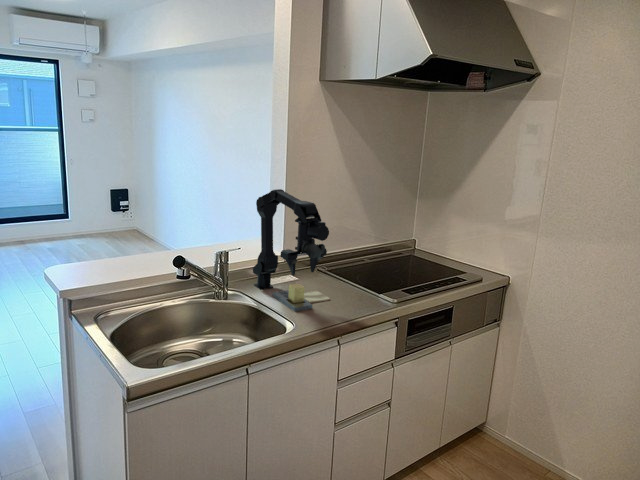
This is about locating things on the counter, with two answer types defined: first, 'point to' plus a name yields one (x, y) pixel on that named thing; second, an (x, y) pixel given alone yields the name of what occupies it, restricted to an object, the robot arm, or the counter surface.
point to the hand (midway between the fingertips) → (302, 273)
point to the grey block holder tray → (283, 298)
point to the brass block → (296, 294)
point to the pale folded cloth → (315, 297)
